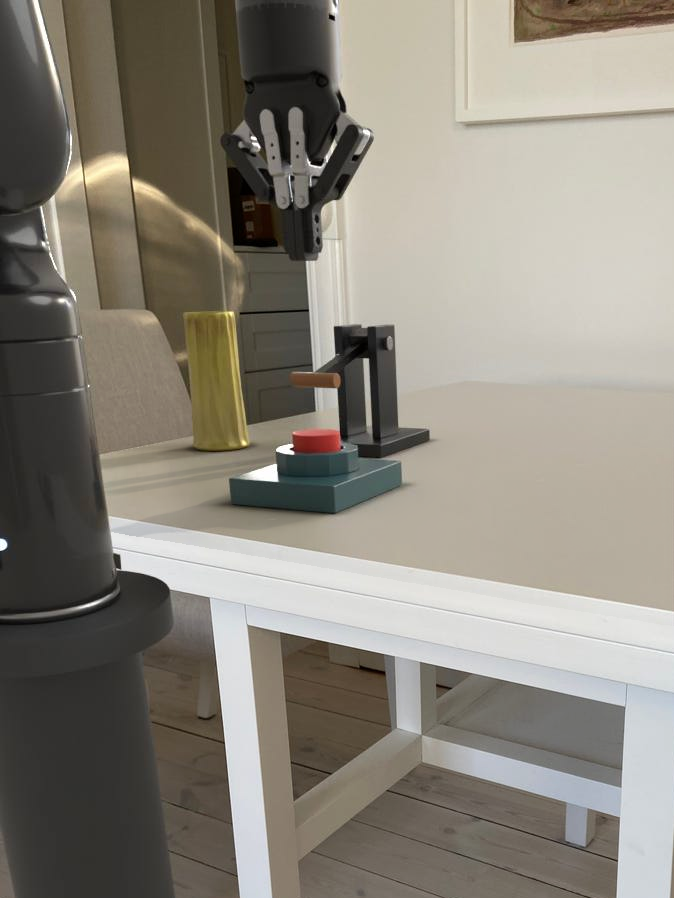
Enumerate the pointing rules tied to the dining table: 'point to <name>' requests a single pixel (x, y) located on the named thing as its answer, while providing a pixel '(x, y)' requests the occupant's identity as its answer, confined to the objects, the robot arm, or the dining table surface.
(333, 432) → the button
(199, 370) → the vase
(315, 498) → the control block
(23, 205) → the robot arm
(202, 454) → the dining table surface
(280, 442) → the dining table surface
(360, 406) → the bracket
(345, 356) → the lever
